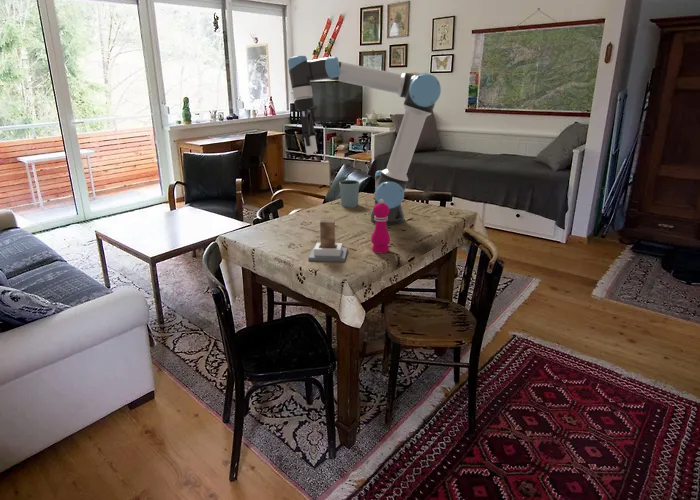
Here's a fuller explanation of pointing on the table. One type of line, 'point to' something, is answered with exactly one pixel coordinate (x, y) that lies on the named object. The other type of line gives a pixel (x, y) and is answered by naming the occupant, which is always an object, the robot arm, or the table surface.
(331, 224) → the wooden slat
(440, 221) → the table surface
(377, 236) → the pepper mill
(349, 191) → the blue-grey cup
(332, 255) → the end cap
